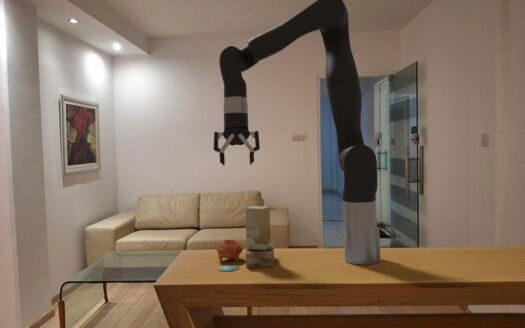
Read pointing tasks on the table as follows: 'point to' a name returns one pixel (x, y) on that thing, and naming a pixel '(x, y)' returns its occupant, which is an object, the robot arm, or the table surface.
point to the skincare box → (258, 227)
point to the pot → (229, 250)
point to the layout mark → (228, 268)
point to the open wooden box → (260, 258)
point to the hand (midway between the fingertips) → (237, 164)
